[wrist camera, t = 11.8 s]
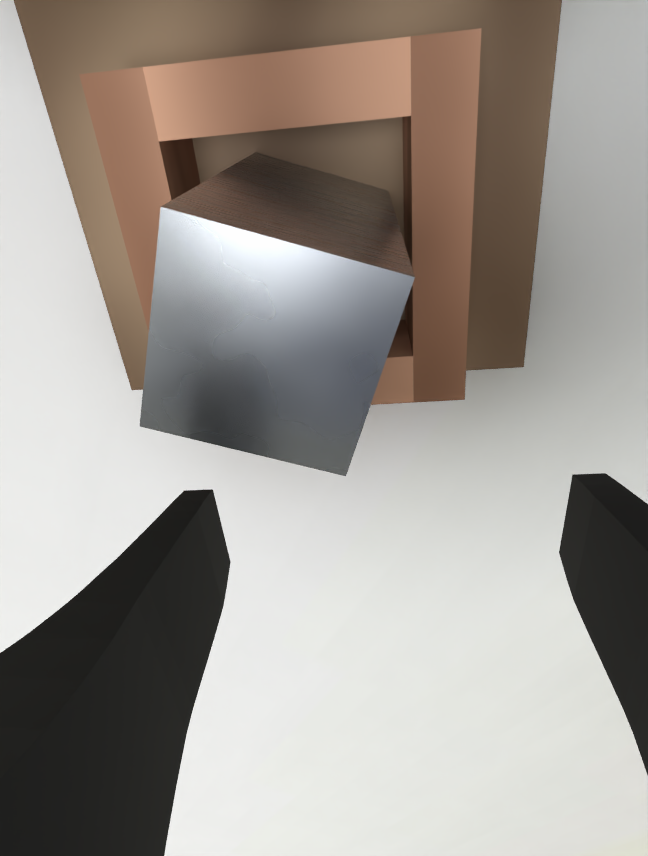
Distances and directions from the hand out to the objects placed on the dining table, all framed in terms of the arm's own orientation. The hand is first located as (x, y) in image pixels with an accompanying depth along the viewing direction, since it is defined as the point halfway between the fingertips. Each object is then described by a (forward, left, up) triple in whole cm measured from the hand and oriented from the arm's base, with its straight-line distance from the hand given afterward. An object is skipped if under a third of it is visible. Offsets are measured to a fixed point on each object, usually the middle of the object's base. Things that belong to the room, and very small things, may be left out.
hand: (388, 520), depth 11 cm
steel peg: (+2, -4, -9) cm, 10 cm away
